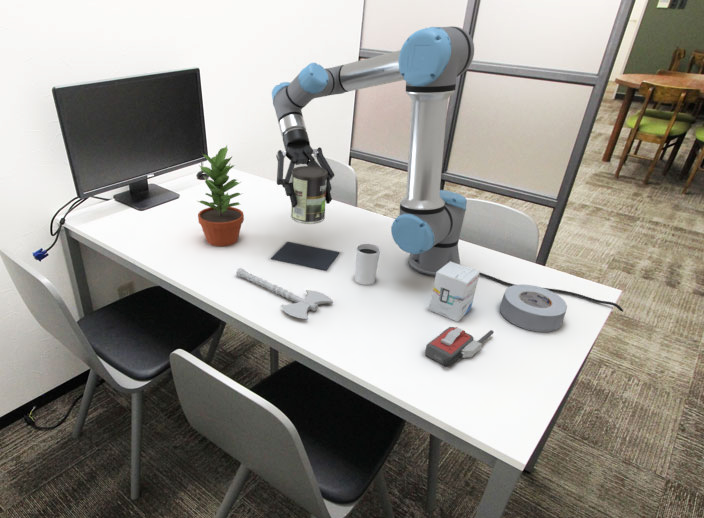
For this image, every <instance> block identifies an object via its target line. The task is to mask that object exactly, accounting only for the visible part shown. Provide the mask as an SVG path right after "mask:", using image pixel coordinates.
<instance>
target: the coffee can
mask: <svg viewBox="0 0 704 518" xmlns="http://www.w3.org/2000/svg"><path fill="white" fill-rule="evenodd" d="M320 167H321V166H320ZM320 167H315V166H307V165H301V166H297V167H294V168H293V169H292V175H291V182H292V184H293V188H294V192H295V195H296V199H297V205H296V206H295V207H294V208H292V204H290V205H291V206H290V219H291V220H292V221H294V222H295V223H298V224H304V225H316V224H319V223H323V222H324V221H325V219H326V216H325V215H326V186H327V175H328V171H327V170H325V169H323V168H320Z"/></svg>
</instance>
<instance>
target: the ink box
mask: <svg viewBox="0 0 704 518" xmlns="http://www.w3.org/2000/svg"><path fill="white" fill-rule="evenodd" d="M479 273H481V271H480V270H478V269H476V268H471V267H469V266H465V265H462V264H461V263H460V264H457V263H454V262H451V261H450V262H449V263H447V264H446V265H445V266H444V267H442V268H441V269H440V270H438V271H437V272H436V276H434V282H433V287H432V292H431V298H430V303H429V308H428V310H429V311H431V312H433V313H435V314H437V315H440V316H442V317H445V318H447V319H450V320H452V321H455V322H456V323H457V322H459V321H460V320H462V318H463V317H464V316H465V315H466V314H467V313H469V311H470V310H471V309H472V306H473V303H474V297H475V293H476V291H477V290H476V289H477V285H478V281H479V276H480V275H479Z"/></svg>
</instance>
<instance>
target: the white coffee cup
mask: <svg viewBox="0 0 704 518" xmlns="http://www.w3.org/2000/svg"><path fill="white" fill-rule="evenodd" d="M380 254H381V248H380V247H379V246H378V245H376V244H373V243H360V244H358V245H357V246H356V249H355V270H354V281H355V282H356V283H357V284H359V285H363V286H370V285H373V284H374V283H375V282H376V277H377V272H378V271H377V270H378V265H379V259H380Z"/></svg>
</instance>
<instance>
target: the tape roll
mask: <svg viewBox="0 0 704 518" xmlns="http://www.w3.org/2000/svg"><path fill="white" fill-rule="evenodd" d="M544 288H545V287H541V286H538V285H533V284H515V285H513V286H509V287H507V288H506V289H505V290H504V293H503V296H502V299H501V302H500V305H499V312H500V314H501V315H502V317H503V318H504V319H505V320H507V321H508V322H509V323H511V324H513V325H515V326H516V327H519V328H522V329H524V330H527V331H532V332H537V333H549V332H554V331H556V330H558V329H559V328H560V327H561V325H562V323H563V321H564V318H565V315H566V312H567V309H568V304H567V303H566V301H565V300H564V299H563V298H562V297H561V296H560V295H558V294H557V293H556V292H553V291H549V290H547V289H544Z"/></svg>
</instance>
